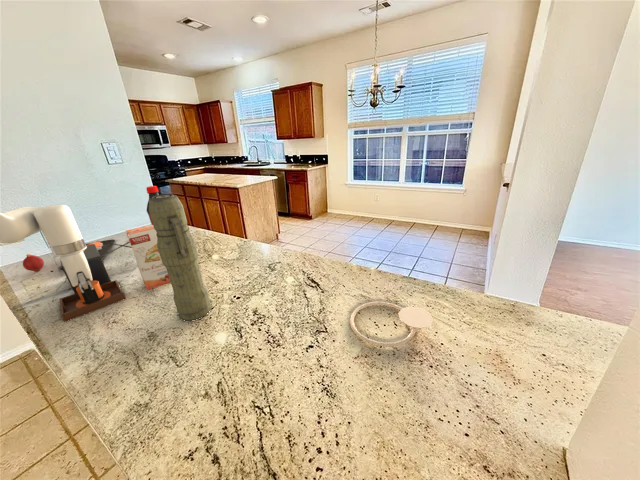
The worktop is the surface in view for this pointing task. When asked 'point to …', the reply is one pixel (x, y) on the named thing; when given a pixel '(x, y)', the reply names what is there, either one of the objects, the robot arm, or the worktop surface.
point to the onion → (33, 263)
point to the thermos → (179, 256)
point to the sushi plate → (105, 247)
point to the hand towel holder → (408, 315)
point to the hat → (99, 292)
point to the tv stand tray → (72, 311)
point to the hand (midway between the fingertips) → (91, 295)
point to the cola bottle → (152, 192)
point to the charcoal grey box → (93, 266)
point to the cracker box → (148, 256)
